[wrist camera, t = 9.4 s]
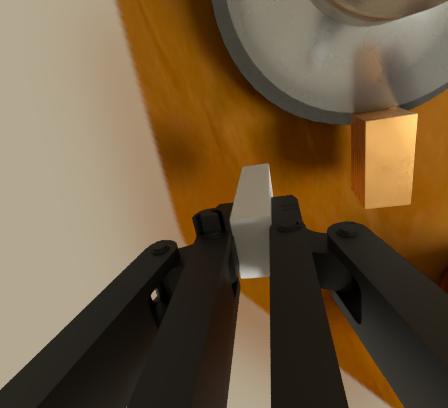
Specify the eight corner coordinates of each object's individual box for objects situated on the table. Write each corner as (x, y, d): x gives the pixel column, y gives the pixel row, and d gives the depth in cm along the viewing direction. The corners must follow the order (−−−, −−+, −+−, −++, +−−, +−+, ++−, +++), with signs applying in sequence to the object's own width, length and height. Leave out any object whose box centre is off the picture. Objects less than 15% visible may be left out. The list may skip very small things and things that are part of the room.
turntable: (198, -198, 14) (175, -285, 10) (595, -356, 11) (748, -552, 7) (258, 195, 22) (256, 220, 18) (493, 167, 19) (543, 190, 15)
